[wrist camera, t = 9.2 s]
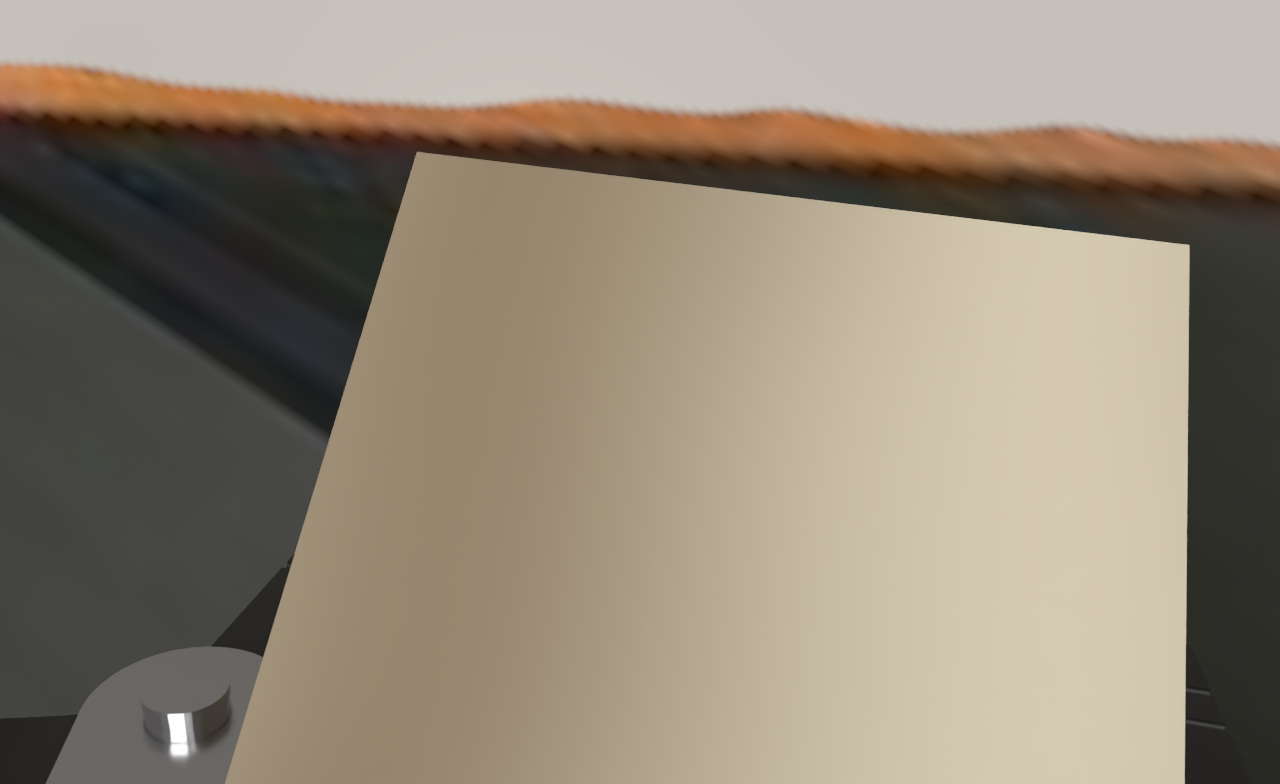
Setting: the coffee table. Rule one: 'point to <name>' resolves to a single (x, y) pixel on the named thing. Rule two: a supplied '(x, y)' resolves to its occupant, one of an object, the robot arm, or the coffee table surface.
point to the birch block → (739, 500)
